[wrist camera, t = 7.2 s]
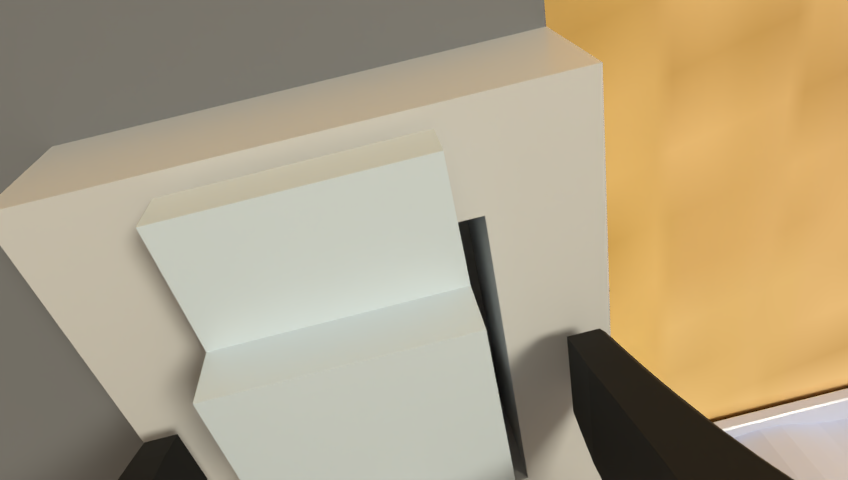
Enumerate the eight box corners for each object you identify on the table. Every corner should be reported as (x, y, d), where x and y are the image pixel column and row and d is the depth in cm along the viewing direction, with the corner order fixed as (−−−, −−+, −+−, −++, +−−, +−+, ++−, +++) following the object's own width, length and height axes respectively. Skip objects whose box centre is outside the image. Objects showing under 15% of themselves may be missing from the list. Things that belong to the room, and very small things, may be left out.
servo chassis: (514, -136, 10) (596, -147, 7) (570, 451, 18) (616, 559, 15) (-658, 144, 9) (-1107, 260, 6) (-44, 606, 18) (-117, 747, 15)
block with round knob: (410, 73, 10) (472, 221, 6) (489, 439, 16) (554, 661, 11) (193, 127, 10) (83, 318, 6) (349, 474, 16) (358, 712, 11)
